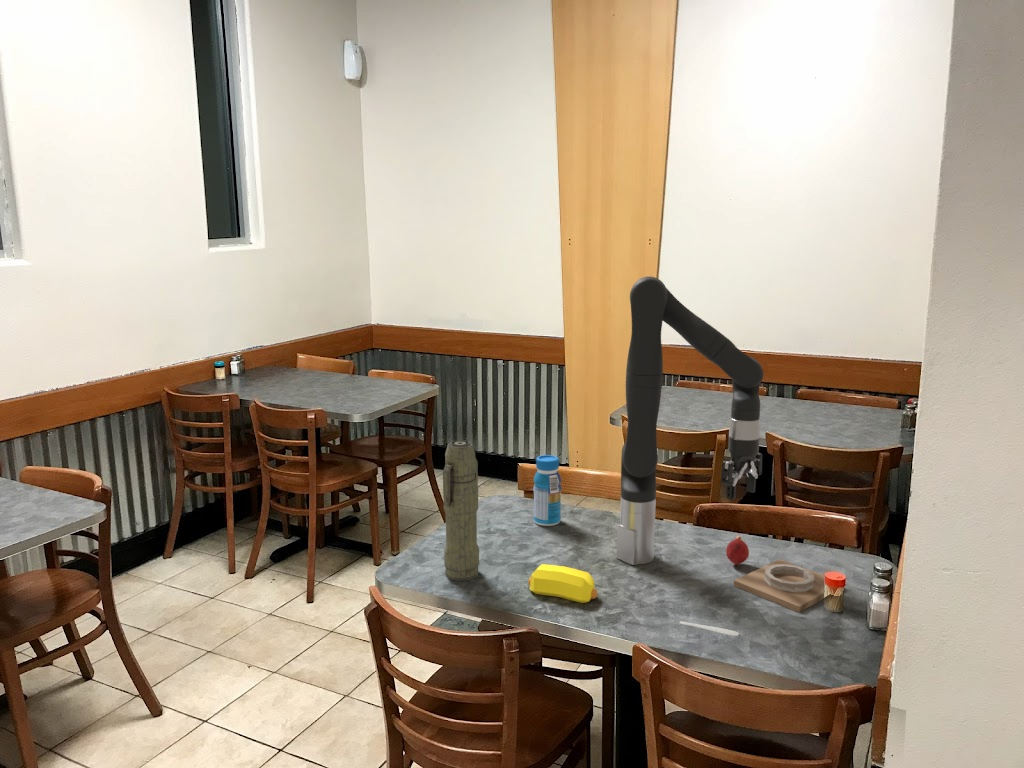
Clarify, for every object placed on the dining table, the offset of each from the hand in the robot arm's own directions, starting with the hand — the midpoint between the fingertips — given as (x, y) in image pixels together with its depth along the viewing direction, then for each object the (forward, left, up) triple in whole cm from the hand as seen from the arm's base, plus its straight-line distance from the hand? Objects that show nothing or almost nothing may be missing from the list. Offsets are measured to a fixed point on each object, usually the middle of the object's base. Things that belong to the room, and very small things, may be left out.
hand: (740, 495), depth 212 cm
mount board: (-1, -16, -19) cm, 25 cm away
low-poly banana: (-47, +17, -20) cm, 54 cm away
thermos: (-59, +42, -20) cm, 75 cm away
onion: (0, 0, -20) cm, 20 cm away
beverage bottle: (-18, +55, -20) cm, 61 cm away
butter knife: (-36, -10, -20) cm, 43 cm away
